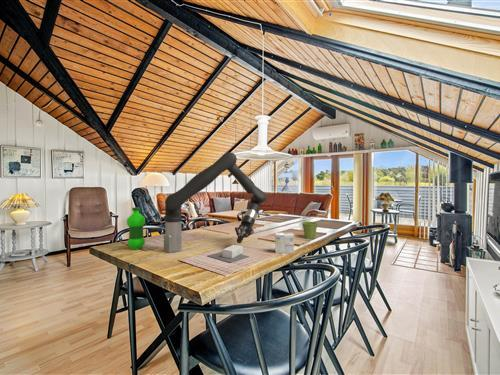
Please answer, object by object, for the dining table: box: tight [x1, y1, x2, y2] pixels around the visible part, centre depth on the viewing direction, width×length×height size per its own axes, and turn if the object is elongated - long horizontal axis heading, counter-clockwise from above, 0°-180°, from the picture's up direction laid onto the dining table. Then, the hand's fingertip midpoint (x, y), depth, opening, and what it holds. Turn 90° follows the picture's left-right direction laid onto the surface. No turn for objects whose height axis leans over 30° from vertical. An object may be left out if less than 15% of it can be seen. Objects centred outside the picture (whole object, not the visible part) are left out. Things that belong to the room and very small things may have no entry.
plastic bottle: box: [126, 206, 146, 250], centre depth 155 cm, size 10×10×25 cm
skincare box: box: [222, 244, 244, 258], centre depth 138 cm, size 6×4×12 cm
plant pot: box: [301, 221, 319, 240], centre depth 184 cm, size 12×12×11 cm
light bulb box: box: [274, 232, 295, 255], centre depth 146 cm, size 11×7×11 cm, turn 84°
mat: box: [207, 250, 250, 264], centre depth 137 cm, size 14×18×1 cm
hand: (238, 242), depth 144 cm, fingers closed
